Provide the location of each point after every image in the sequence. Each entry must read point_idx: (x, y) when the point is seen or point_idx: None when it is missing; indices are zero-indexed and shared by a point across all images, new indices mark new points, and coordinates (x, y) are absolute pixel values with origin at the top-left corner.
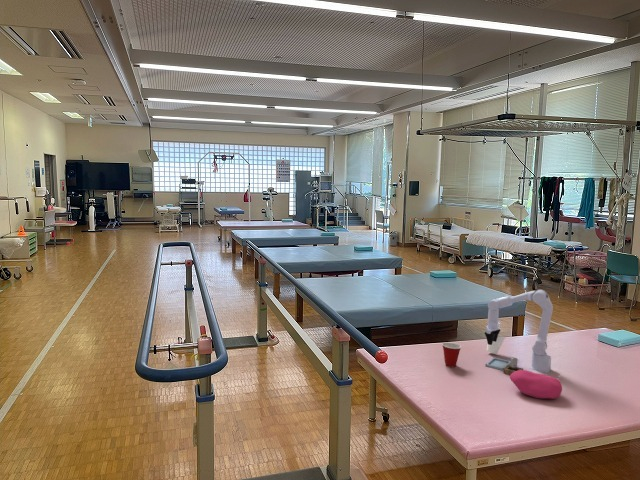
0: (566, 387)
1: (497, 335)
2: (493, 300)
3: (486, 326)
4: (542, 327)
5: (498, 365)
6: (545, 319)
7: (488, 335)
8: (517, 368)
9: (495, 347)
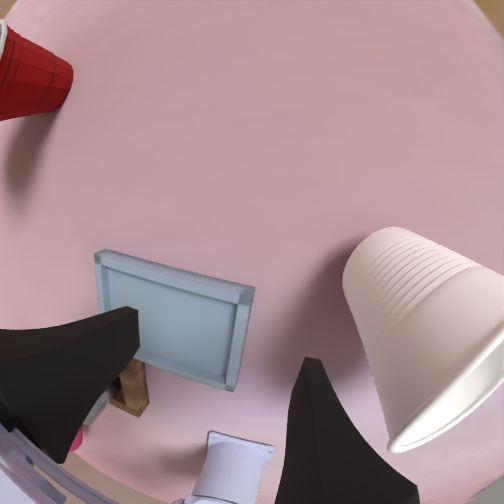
0: (139, 459)
1: (282, 477)
2: None
3: None
4: None
5: (150, 321)
6: None
7: (39, 376)
8: (125, 398)
9: (358, 331)
